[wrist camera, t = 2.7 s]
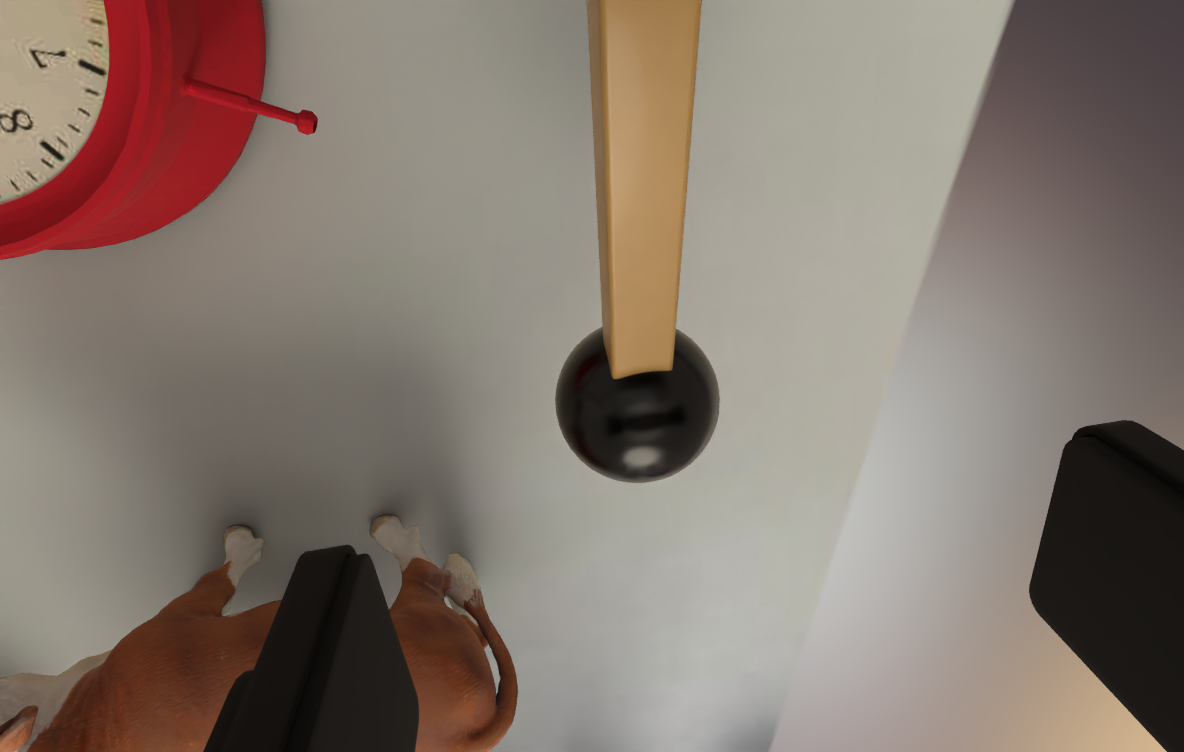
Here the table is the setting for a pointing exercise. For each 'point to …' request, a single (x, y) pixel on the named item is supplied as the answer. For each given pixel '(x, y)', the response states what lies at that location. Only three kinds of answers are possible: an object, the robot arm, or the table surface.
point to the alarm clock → (122, 114)
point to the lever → (640, 252)
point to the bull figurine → (232, 646)
